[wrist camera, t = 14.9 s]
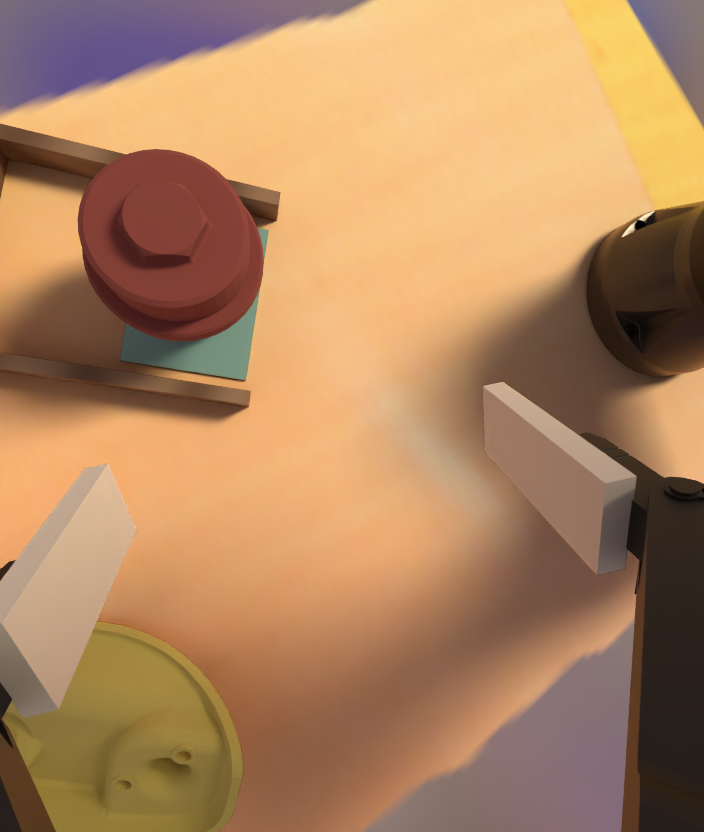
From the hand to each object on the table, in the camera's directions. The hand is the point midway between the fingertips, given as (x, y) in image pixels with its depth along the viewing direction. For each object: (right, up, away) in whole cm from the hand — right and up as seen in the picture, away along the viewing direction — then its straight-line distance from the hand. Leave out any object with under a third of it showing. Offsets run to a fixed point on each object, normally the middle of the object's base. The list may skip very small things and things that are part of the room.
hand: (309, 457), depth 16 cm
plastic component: (-16, -20, +16) cm, 30 cm away
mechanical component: (-10, +11, +19) cm, 24 cm away
